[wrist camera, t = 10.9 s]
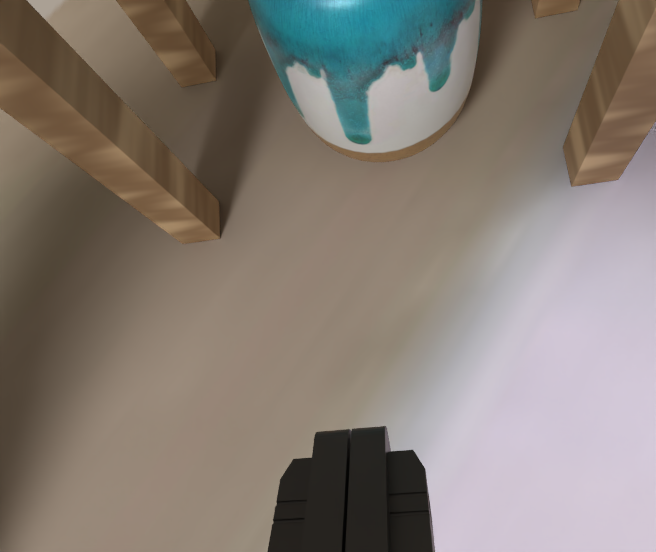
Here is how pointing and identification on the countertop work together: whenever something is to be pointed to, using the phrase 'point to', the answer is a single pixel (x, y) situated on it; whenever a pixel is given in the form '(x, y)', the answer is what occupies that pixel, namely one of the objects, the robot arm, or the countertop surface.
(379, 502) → the robot arm
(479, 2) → the vase
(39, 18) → the riser shelf
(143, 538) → the countertop surface
